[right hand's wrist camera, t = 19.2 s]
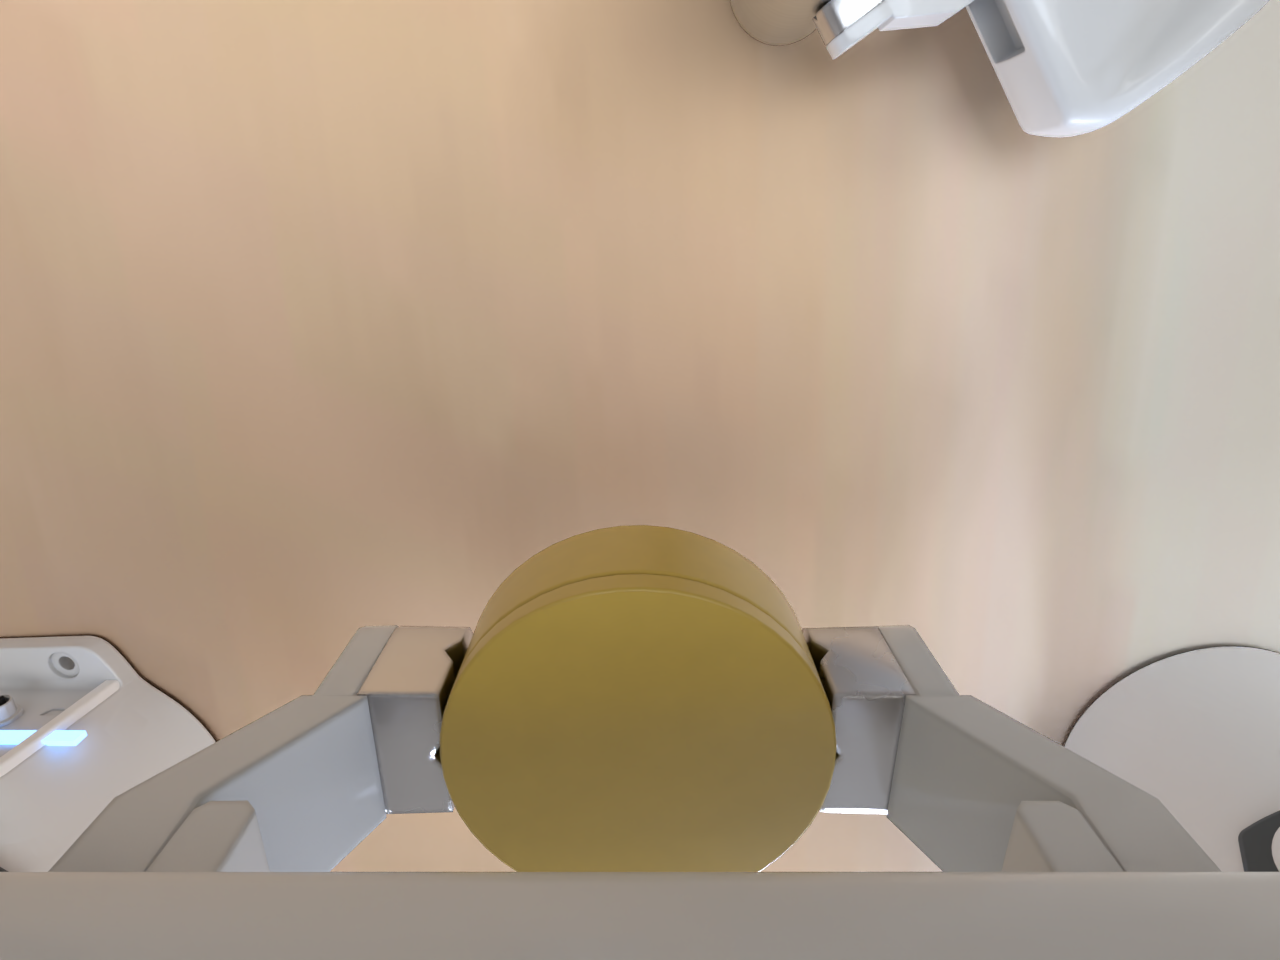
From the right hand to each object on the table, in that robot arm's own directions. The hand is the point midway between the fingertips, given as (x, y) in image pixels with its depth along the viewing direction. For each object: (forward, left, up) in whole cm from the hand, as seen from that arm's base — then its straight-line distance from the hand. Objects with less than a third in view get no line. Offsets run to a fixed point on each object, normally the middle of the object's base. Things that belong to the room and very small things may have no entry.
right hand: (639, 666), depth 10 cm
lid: (0, 0, +2) cm, 2 cm away
